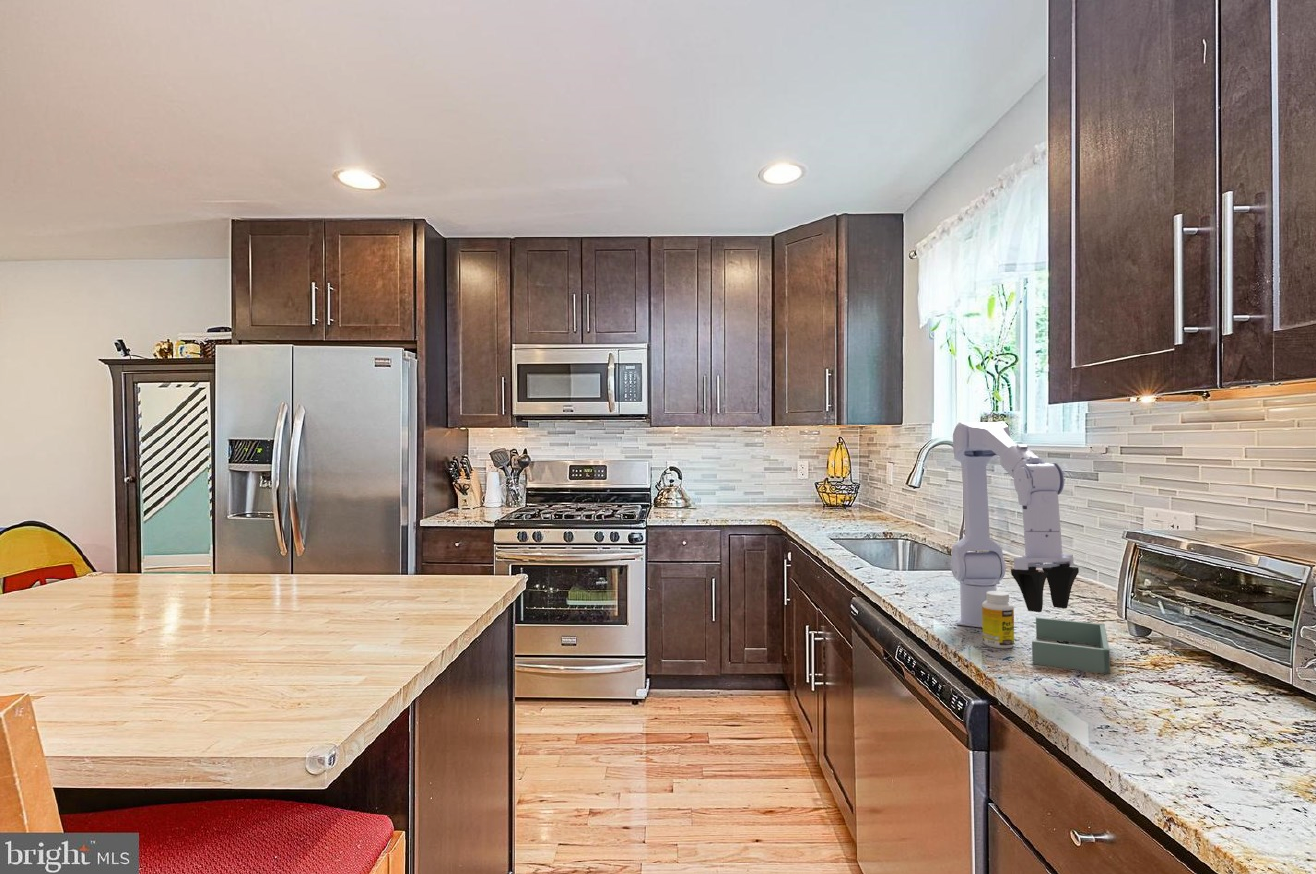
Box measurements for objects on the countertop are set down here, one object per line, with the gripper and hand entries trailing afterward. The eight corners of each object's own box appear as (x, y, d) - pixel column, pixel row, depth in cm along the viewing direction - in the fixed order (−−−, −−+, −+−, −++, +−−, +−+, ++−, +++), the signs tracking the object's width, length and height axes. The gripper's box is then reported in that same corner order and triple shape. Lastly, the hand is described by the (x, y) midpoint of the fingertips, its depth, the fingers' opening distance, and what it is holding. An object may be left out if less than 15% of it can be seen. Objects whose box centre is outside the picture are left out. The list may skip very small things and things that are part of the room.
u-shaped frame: (1036, 637, 138) (1036, 617, 138) (1105, 644, 132) (1104, 624, 132) (1032, 663, 122) (1032, 641, 122) (1110, 674, 116) (1109, 650, 116)
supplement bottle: (1004, 651, 129) (1003, 597, 129) (976, 644, 134) (975, 592, 134) (1020, 646, 132) (1019, 593, 132) (992, 639, 137) (991, 588, 137)
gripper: (1039, 533, 113) (1045, 616, 112) (1088, 530, 121) (1094, 608, 119) (1000, 532, 120) (1005, 611, 118) (1049, 529, 127) (1054, 604, 125)
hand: (1047, 609), depth 119 cm, fingers open, 7 cm apart
